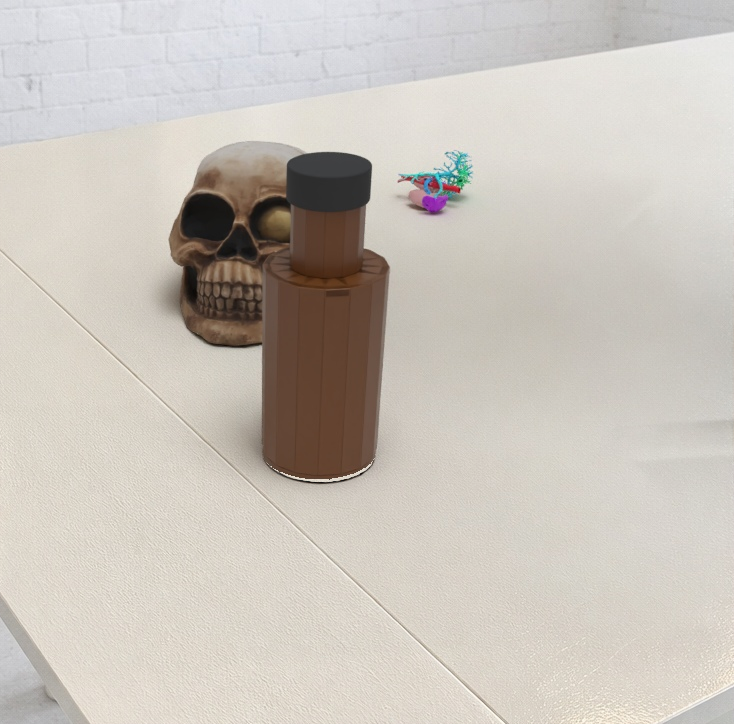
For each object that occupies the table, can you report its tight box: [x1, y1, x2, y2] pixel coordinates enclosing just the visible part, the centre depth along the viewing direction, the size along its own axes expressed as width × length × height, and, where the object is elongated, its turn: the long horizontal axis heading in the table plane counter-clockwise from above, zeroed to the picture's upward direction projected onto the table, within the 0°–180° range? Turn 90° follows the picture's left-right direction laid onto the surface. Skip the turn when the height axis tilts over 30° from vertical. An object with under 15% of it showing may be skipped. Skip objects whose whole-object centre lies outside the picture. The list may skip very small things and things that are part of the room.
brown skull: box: [168, 140, 308, 347], centre depth 93 cm, size 16×17×13 cm
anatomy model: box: [397, 149, 474, 214], centre depth 114 cm, size 5×8×7 cm
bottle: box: [261, 204, 391, 480], centre depth 69 cm, size 7×7×17 cm
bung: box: [286, 151, 373, 212], centre depth 64 cm, size 5×5×4 cm
